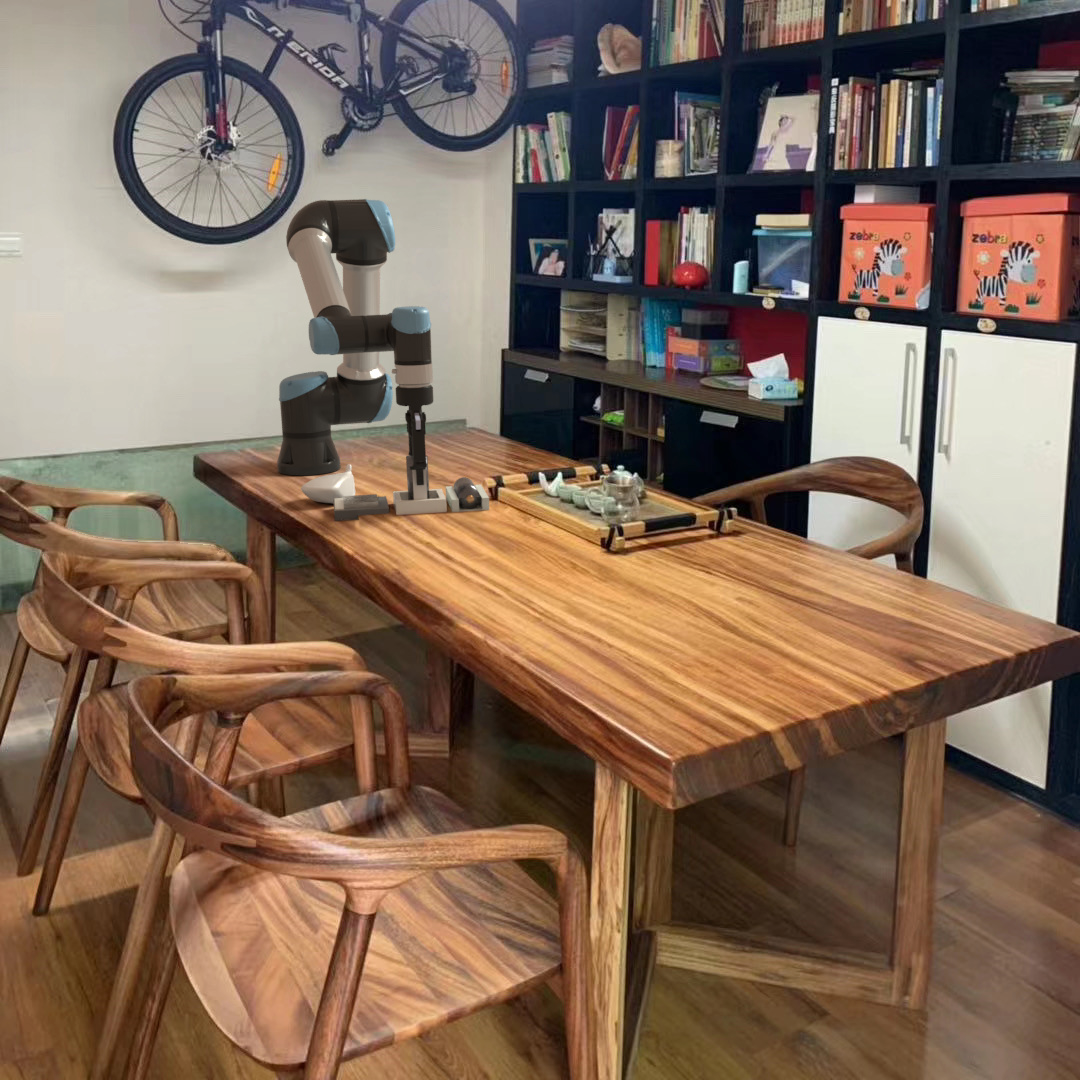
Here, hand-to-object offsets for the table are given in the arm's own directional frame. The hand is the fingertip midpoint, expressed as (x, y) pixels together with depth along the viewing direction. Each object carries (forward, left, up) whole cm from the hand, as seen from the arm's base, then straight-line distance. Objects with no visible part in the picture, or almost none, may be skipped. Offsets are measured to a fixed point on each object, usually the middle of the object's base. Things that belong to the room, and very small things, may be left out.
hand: (419, 496), depth 248 cm
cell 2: (-1, +10, -2) cm, 10 cm away
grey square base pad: (-2, -12, -3) cm, 13 cm away
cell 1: (0, 0, -3) cm, 3 cm away
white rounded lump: (-15, -19, -4) cm, 24 cm away
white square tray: (0, 0, -3) cm, 3 cm away
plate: (-2, -12, -1) cm, 12 cm away
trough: (-1, +10, -3) cm, 11 cm away
